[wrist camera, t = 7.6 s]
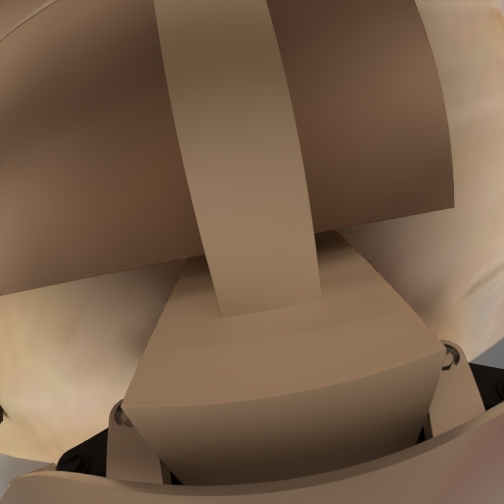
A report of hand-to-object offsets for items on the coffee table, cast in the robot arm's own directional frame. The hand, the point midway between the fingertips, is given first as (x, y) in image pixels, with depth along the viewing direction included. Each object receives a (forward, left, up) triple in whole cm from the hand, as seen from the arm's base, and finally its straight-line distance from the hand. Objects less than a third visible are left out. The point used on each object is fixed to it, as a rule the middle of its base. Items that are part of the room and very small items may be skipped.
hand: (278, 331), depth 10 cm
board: (-10, -7, -1) cm, 12 cm away
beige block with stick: (-5, 0, -1) cm, 6 cm away
